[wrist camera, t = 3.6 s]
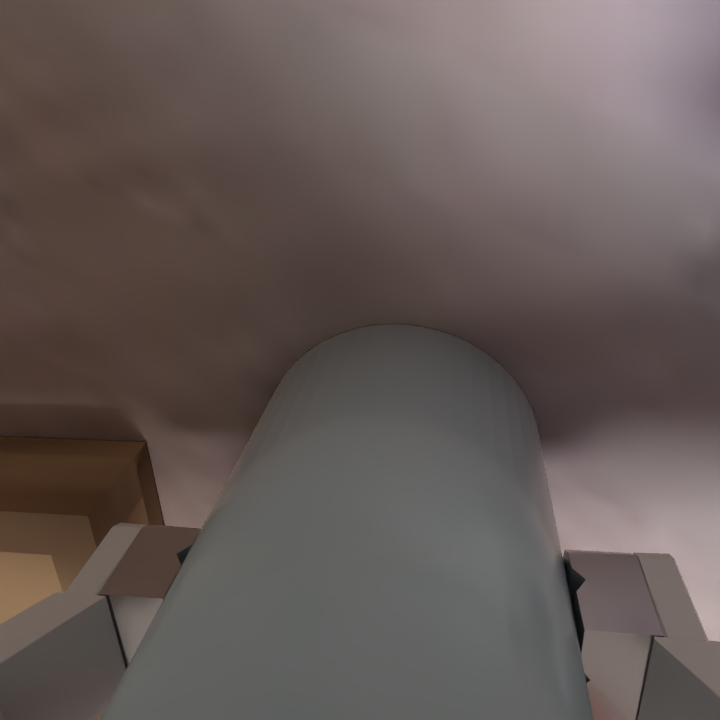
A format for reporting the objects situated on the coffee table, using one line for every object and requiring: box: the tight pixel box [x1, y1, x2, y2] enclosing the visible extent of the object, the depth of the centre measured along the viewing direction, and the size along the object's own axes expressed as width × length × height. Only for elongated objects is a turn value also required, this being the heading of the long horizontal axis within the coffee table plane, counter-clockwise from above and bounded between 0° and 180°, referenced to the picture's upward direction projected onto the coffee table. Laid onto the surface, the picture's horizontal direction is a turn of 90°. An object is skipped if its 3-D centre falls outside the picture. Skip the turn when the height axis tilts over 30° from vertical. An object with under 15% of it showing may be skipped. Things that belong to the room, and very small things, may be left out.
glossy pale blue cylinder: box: [99, 324, 594, 720], centre depth 10 cm, size 6×6×9 cm
